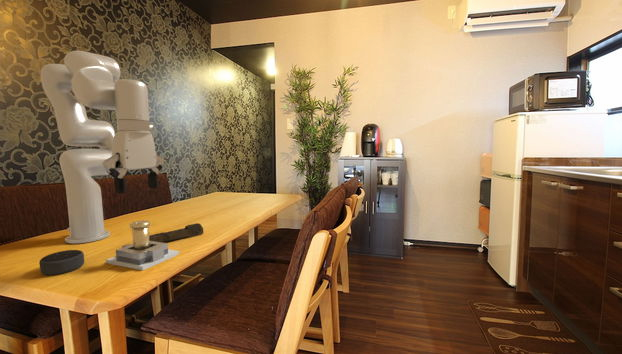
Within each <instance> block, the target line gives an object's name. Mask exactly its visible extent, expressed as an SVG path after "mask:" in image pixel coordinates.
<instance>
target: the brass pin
mask: <svg viewBox="0 0 622 354" xmlns="http://www.w3.org/2000/svg"><path fill="white" fill-rule="evenodd" d="M149 226H151V221H150V220H147V219H146V220H145V219H144V220H136V221H132V222H130V223H129V227H130V229H131V234H132V244H133V249H134V250H138V251H142V250H145V249H147V248H150V240H149V235H150V228H149Z"/></svg>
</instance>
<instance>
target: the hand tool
mask: <svg viewBox="0 0 622 354" xmlns="http://www.w3.org/2000/svg"><path fill="white" fill-rule="evenodd" d="M203 234H204V227H203V226H202V224H201V223H191V224H187V225H185V226H184V228H178V229H174V230H171V231H166V232H165V231H164V232H160V233H158V232H157V233H154V234H149V240H150V241H155V242H161V243H167V242H172V241H175V240H179V239H184V238H187V239H191V238H194V237H198V236H200V235H203Z"/></svg>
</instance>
